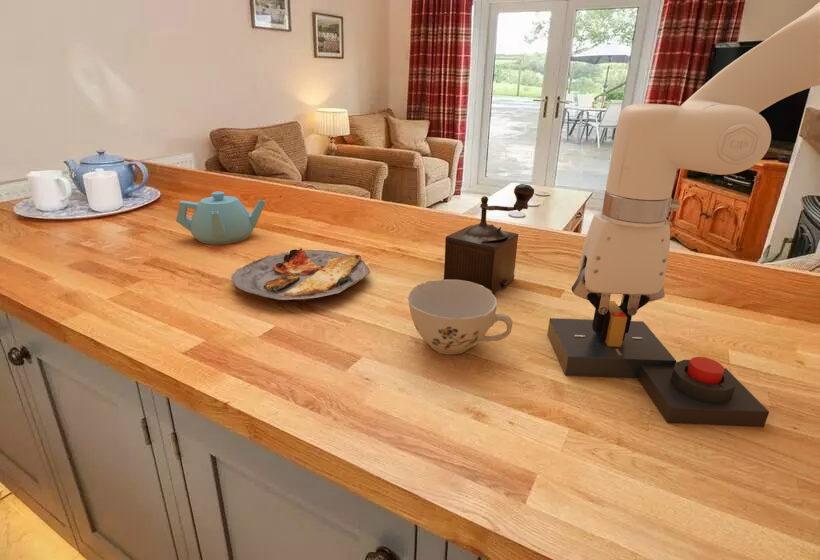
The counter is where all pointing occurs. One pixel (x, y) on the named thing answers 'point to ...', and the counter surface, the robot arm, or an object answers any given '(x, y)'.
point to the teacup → (455, 314)
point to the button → (705, 370)
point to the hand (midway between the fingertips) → (608, 335)
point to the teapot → (219, 219)
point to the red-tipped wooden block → (615, 325)
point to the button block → (700, 398)
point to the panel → (605, 350)
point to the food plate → (300, 274)
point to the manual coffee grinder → (485, 248)
